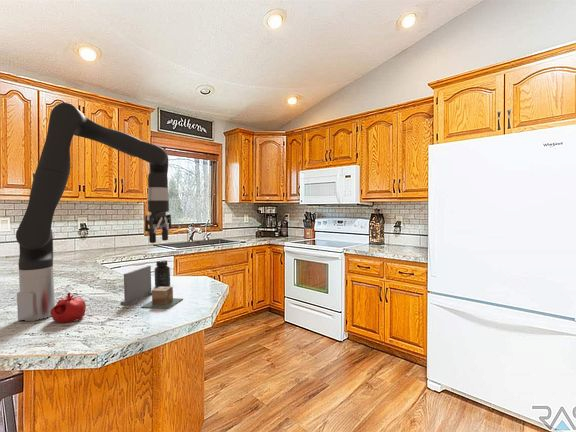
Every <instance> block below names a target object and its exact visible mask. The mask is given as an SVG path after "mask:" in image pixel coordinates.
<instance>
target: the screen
mask: <svg viewBox="0 0 576 432" xmlns="http://www.w3.org/2000/svg"><path fill="white" fill-rule="evenodd" d="M151 267H152V266H151V265H146V266H143V267H141V268H136V269H134V270H132V271H128V272H126V273H123V291H124V292H123V293H124V299H123V300H122V301H120V305H125V306H129V305H130V306H133V305H135V304H137V301H138V300H140V299H142V298H144V297H147V296H152V271H151V270H152V268H151Z"/></svg>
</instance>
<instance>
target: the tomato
mask: <svg viewBox="0 0 576 432" xmlns="http://www.w3.org/2000/svg"><path fill="white" fill-rule="evenodd" d="M71 294H72V292H67V295H65V296H64V297H65V298H64V297H57V298H56V300H58V299H59V300H58V301H57V302H56V305H55V307H53V308H52V309H51V312H50V313H51V316H50V317H51V318H52V320H53V321H55V322H57V323H62V324H63V323H64V322H65V323H72V321H73V322H75V321H78V319H79V320H81V319H83V317H84V316H85V315H86V314H85V313H86V309H87V304H86V302H85V300H84V299H82V298H83V297H84V295H82V296H81V295H79V296H78V295H77V296H76V294H74V293H73V294H72V295H71ZM74 296H75V297H74Z"/></svg>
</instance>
